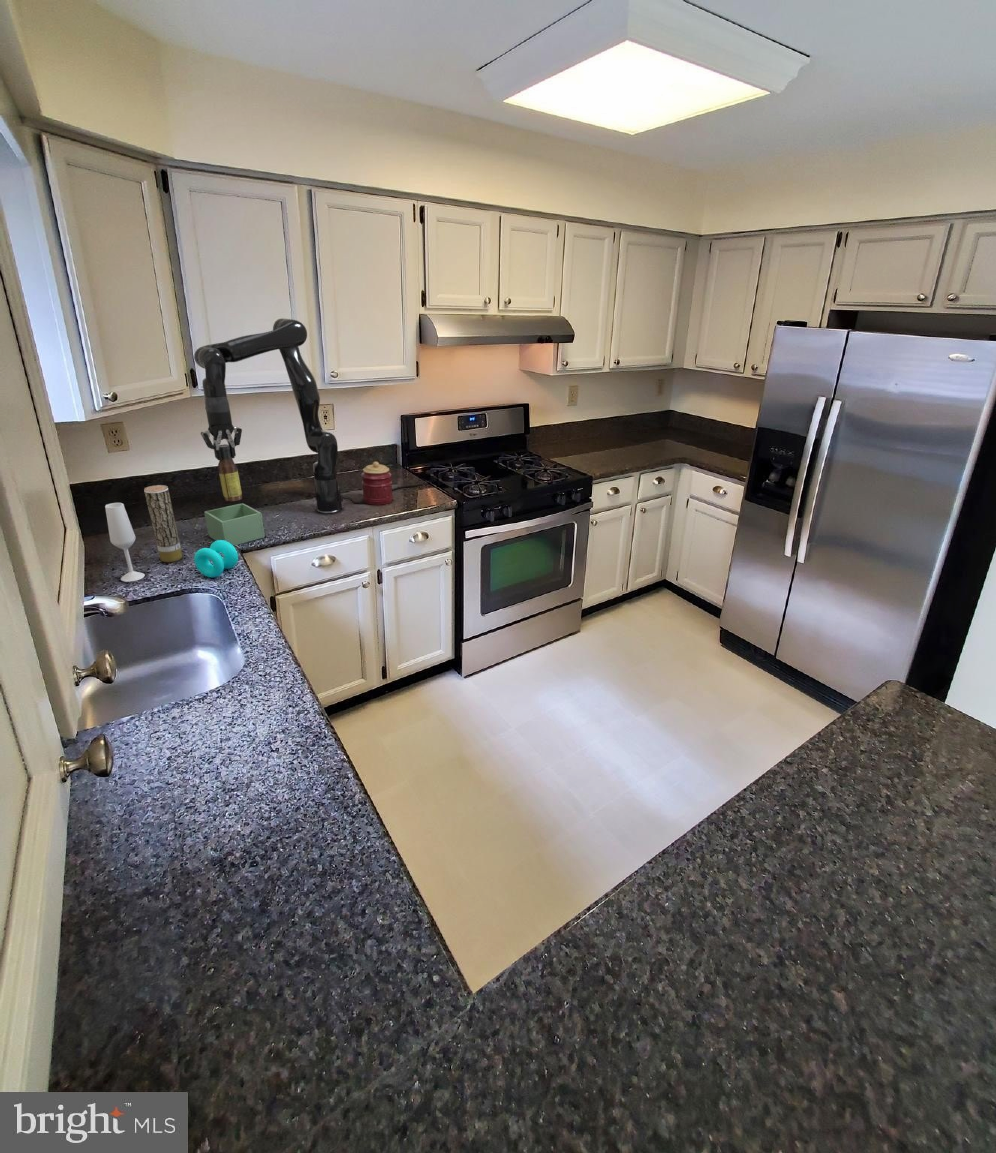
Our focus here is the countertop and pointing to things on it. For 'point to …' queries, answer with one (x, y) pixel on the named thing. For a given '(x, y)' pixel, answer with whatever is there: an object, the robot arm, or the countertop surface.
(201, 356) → the robot arm
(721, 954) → the countertop surface
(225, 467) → the sauce bottle
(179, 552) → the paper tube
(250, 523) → the bin
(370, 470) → the kitchen canister
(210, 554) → the turquoise yo-yo
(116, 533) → the champagne flute
